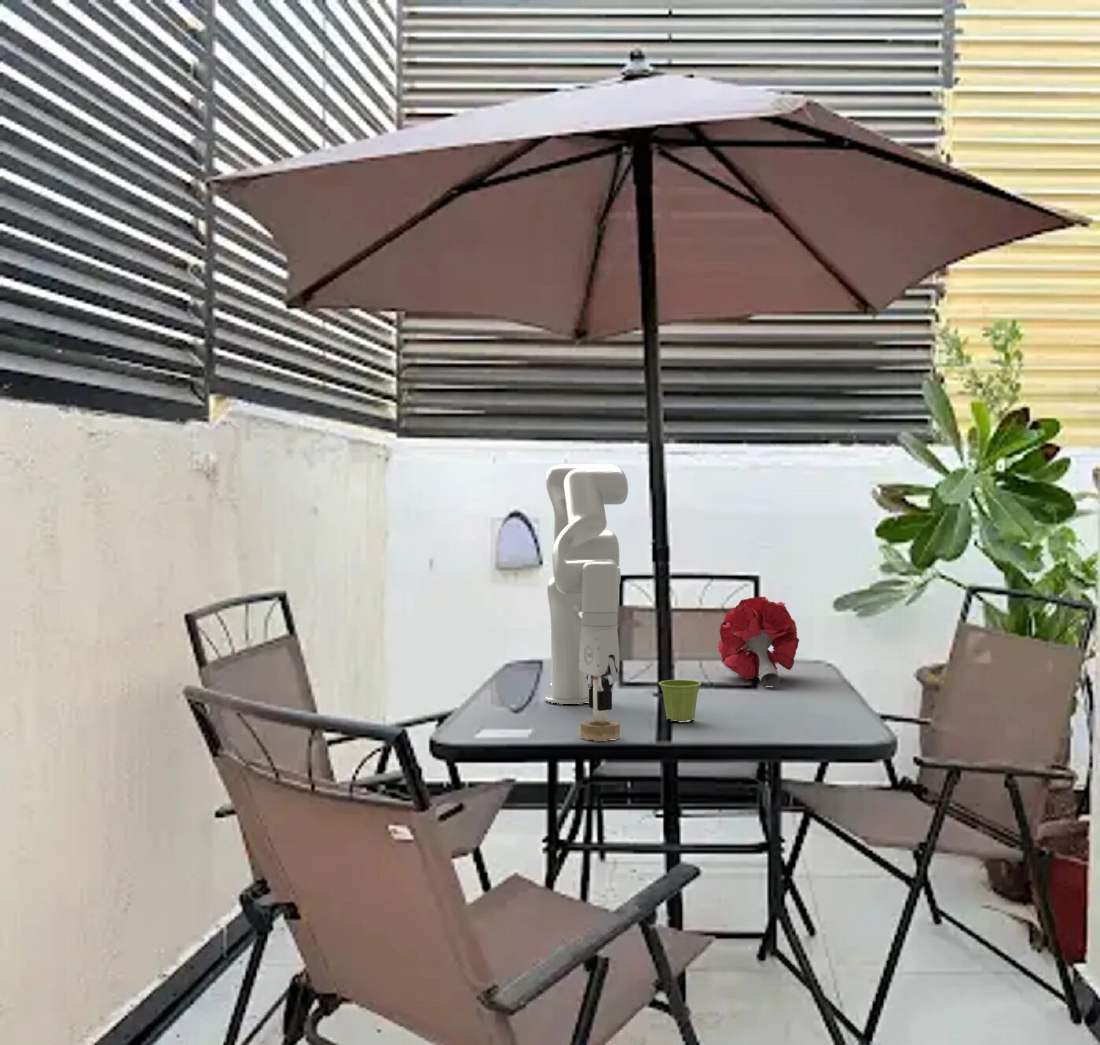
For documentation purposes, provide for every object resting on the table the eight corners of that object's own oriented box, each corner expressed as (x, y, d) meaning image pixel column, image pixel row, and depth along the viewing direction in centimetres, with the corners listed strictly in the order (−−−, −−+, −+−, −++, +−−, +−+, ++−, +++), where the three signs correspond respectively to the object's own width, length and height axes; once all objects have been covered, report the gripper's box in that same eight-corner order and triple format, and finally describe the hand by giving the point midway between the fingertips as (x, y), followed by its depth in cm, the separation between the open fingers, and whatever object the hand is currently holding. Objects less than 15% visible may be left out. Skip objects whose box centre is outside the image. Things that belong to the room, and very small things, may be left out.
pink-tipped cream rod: (590, 720, 250) (590, 672, 250) (603, 719, 251) (603, 671, 251) (597, 722, 247) (597, 674, 247) (610, 721, 248) (610, 673, 248)
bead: (576, 736, 251) (576, 722, 251) (607, 733, 254) (607, 719, 254) (592, 742, 244) (592, 728, 244) (624, 739, 247) (624, 725, 247)
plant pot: (668, 726, 262) (668, 686, 262) (653, 718, 271) (652, 680, 271) (708, 723, 265) (707, 684, 265) (691, 716, 274) (691, 678, 274)
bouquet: (811, 710, 319) (789, 643, 345) (814, 639, 307) (791, 575, 333) (730, 716, 320) (714, 649, 346) (730, 645, 308) (714, 581, 333)
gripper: (566, 618, 255) (566, 704, 255) (602, 624, 240) (602, 716, 240) (597, 616, 258) (598, 702, 258) (635, 623, 243) (635, 713, 243)
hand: (600, 707), depth 249 cm, fingers closed on pink-tipped cream rod, 3 cm apart
